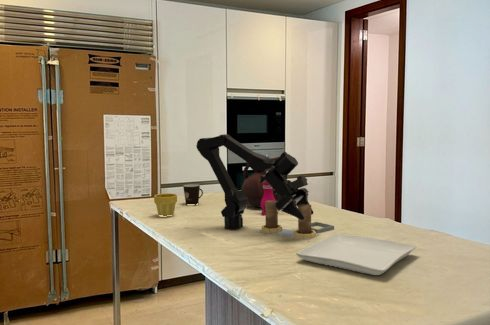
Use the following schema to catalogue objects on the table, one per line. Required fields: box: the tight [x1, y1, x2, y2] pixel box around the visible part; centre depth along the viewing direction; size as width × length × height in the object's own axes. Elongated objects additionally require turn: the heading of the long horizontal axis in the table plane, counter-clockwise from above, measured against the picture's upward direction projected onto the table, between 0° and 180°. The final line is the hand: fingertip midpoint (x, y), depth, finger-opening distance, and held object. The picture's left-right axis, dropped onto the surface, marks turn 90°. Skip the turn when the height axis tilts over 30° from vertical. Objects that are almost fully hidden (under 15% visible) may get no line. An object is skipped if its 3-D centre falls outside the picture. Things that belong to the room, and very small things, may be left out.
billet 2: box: [297, 203, 312, 234], centre depth 153 cm, size 5×5×11 cm
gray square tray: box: [311, 221, 335, 234], centre depth 163 cm, size 9×9×2 cm
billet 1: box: [264, 200, 279, 228], centre depth 162 cm, size 5×5×11 cm
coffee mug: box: [182, 183, 204, 205], centre depth 223 cm, size 12×9×10 cm
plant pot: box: [153, 192, 178, 216], centre depth 197 cm, size 10×10×10 cm
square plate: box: [295, 233, 417, 276], centre depth 131 cm, size 27×27×4 cm
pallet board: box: [256, 224, 320, 243], centre depth 158 cm, size 22×9×3 cm, turn 51°
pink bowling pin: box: [260, 171, 276, 216], centre depth 196 cm, size 7×7×20 cm
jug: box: [241, 156, 288, 208], centre depth 216 cm, size 25×25×25 cm
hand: (308, 216), depth 152 cm, fingers open, 9 cm apart
